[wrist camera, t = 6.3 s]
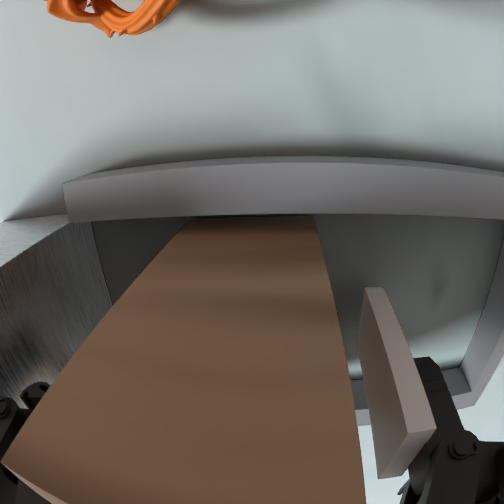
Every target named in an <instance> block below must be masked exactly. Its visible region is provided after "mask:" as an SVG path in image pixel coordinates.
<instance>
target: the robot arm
mask: <svg viewBox="0 0 504 504" xmlns="http://www.w3.org/2000/svg"><path fill="white" fill-rule="evenodd" d="M356 343H357V348H358V353H359V358H360V363H361V368H362V373H363V379H364V384H365V390H366V396H367V401H368V408H369V414H370V420H371V427H372V434H373V441H374V449H375V457H376V466H377V475H378V479H384V478H391V477H397V476H402V475H403V474H404V472H405V471H406V470H407V469H408V471H409V477H410V479H409V480H408V481H407V482H406V483H405V484H404V485H403V486H402V488H401V489H400V490H399V492H398V494H397V495H401V494H402V493H403V495H402V498H401V501H400V504H504V442H485V441H479V440H478V438H477V437H476V436H475V435H474V434H473V433H471V432H470V431H467V430H464V428H463V426H462V423H461V420H460V418H459V415H458V412H457V410H456V407H455V404H454V402H453V399H452V396H451V394H450V391H448V386H447V384H446V382H445V381H444V377H443V374H442V372H441V370H440V368H439V366H438V365H437V364H436V363H435V362H434V361H433V360H432V359H431V358H430V357H421V358H413V357H412V354H411V352H410V349H409V347H408V344H407V342H406V339H405V337H404V334H403V332H402V329H401V327H400V324H399V322H398V320H397V317H396V315H395V313H394V310H393V308H392V306H391V303H390V301H389V299H388V297H387V294H386V292H385V290H384V288H383V287H365V289H364V297H363V303H362V310H361V316H360V323H359V328H358V334H357V340H356ZM50 386H51V385H50V384H48V383H47V382H36V383H33V384H31V385H29V386H28V387H27V388H26V389H24V390H23V392H22V393H21V395H20V398H21V399H22V401H23V402H24V404H25V405H26V406H27V408H28V409H23V408H20V407H19V406H18V404H17V403H16V402H15V400H13V399H12V398H8V397H5V398H1V399H0V461H1V460H2V458H3V457H4V455H5V453H6V452H7V450H8V448H9V447H10V445H11V444H12V442H13V440H14V439H15V437H16V436H17V434H18V433H19V431H20V430H21V428H22V427H23V425H24V424H25V422H26V421H27V419H28V418H29V416H30V415H31V413H32V412H33V410H34V409H35V407H36V406H37V404H38V403H39V401H40V400H41V399H42V397H43V396H44V394H45V393H46V392H47V390H48V389H49V387H50ZM0 504H52V503H50V502H49V501H47V500H46V499H45V498H43V497H42V496H41V495H39V494H38V493H37V492H35V491H34V490H33V489H31V488H30V487H29V486H28V485H26V484H25V483H24V482H23V481H21V480H20V479H19V478H18V477H17V476H16V475H14V474H13V473H12V472H11V471H10V470H9V469H8V468H6V467H5V466H4V465H3V464H2V463H1V462H0Z"/></svg>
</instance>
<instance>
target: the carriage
mask: <svg viewBox="0 0 504 504" xmlns="http://www.w3.org/2000/svg"><path fill="white" fill-rule="evenodd" d="M0 462H1V463H2V464H3V465H4V466H5V467H6V468H8V469H9V470H10V471H11V472H12V473H13V474H14V475H16V476H17V477H18V478H19V479H20V480H21V481H23V482H24V483H25V484H26V485H28V486H29V487H30V488H31V489H33V490H34V491H35V492H37V493H38V494H39V495H41V496H42V497H43V498H45V499H46V500H47V501H49V502H50V503H52V504H366V496H365V485H364V475H363V466H362V457H361V449H360V441H359V434H358V427H357V420H356V413H355V407H354V400H353V394H352V388H351V382H350V377H349V371H348V366H347V360H346V355H345V350H344V345H343V339H342V335H341V330H340V325H339V320H338V315H337V311H336V306H335V302H334V297H333V293H332V288H331V284H330V280H329V276H328V272H327V267H326V263H325V259H324V255H323V251H322V247H321V243H320V240H319V236H318V232H317V228H316V225H315V221H314V217H237V218H201V219H190V220H189V221H188V222H187V223H186V224H185V225H184V226H183V227H182V228H181V229H180V230H179V231H178V232H177V234H176V235H175V236H174V237H173V238H172V239H171V240H170V241H169V242H168V243H167V244H166V245H165V247H164V248H163V249H162V250H161V251H160V252H159V253H158V254H157V255H156V257H155V258H154V259H153V260H152V261H151V262H150V263H149V264H148V265H147V267H146V268H145V269H144V270H143V271H142V272H141V273H140V275H139V276H138V277H137V278H136V279H135V280H134V281H133V283H132V284H131V285H130V286H129V287H128V288H127V290H126V291H125V292H124V293H123V294H122V296H121V297H120V298H119V299H118V300H117V301H116V303H115V304H114V305H113V306H112V307H111V309H110V310H109V311H108V312H107V314H106V315H105V316H104V317H103V318H102V320H101V321H100V322H99V323H98V325H97V326H96V327H95V328H94V330H93V331H92V332H91V333H90V335H89V336H88V337H87V338H86V340H85V341H84V342H83V343H82V345H81V346H80V347H79V349H78V350H77V351H76V352H75V354H74V355H73V356H72V358H71V359H70V360H69V362H68V363H67V364H66V366H65V367H64V368H63V370H62V371H61V372H60V374H59V375H58V376H57V378H56V379H55V380H54V382H53V383H52V385H51V386H50V387H49V389H48V390H47V392H46V393H45V394H44V396H43V397H42V399H41V400H40V401H39V403H38V404H37V406H36V407H35V409H34V410H33V412H32V413H31V415H30V416H29V418H28V419H27V421H26V422H25V424H24V425H23V427H22V428H21V430H20V431H19V433H18V434H17V436H16V437H15V439H14V440H13V442H12V444H11V445H10V447H9V448H8V450H7V452H6V453H5V455H4V457H3V458H2V460H1V461H0Z"/></svg>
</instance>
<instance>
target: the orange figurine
mask: <svg viewBox="0 0 504 504" xmlns="http://www.w3.org/2000/svg"><path fill="white" fill-rule="evenodd" d="M45 1H48V3H47V11H48V12H49V13H50V14H52V15H54V16H56V17H58V18H61V19H64V20H68V21H72V22H80V23H90V24H92V25H94V26H95V27H97V28H98V29H101V30H103V31H104V32H105V33H106V34H107V36H108V37H110V38H111V37H112V36H113V34H114V32H117V33H119V36H121V35H122V34H128V35H139V34H141V33H144V32H146V31H149V30H150V29H152V28H153V27H154V26H156V25H157V24H158V23H160V22H161V21H162V20H163V19H164V18H165V17H166V16H167V15H168V14H169V13H170V12H171V11H172V10H173V9H174V8H175V7H176V5H177V4H178V3H179V1H180V0H145V1H144V2H143V3H142V4H141V6H140V7H139V8H138V9H137V10H136V11H135V12H127V11H125V10H123V9H121V8H120V7H118V6H117V5H116V4H115V3H114V2H112V1H111V0H91V2H90V3H89V4H88V5H87V0H45ZM86 5H87V7H89V6H92V8H93V10H94V12H95V13H88V12H85V11H84V10H85V8H86Z"/></svg>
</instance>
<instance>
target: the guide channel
mask: <svg viewBox="0 0 504 504" xmlns="http://www.w3.org/2000/svg"><path fill="white" fill-rule="evenodd" d="M62 189H63V195H64V200H65V205H66V210H67V215H68V220H69V223H77V222H90V221H105V220H120V219H138V218H157V217H179V216H205V215H240V214H391V215H424V216H449V217H469V218H486V219H502V220H504V172H500V171H494V170H488V169H482V168H475V167H468V166H461V165H453V164H445V163H436V162H427V161H416V160H404V159H391V158H375V157H353V156H259V157H236V158H219V159H205V160H193V161H181V162H171V163H162V164H153V165H145V166H137V167H129V168H122V169H115V170H109V171H102V172H96V173H91V174H88V175H85V176H82V177H80V178H77V179H74V180H71V181H69V182H66V183H64V184H62ZM503 354H504V238H503V243H502V247H501V252H500V256H499V260H498V264H497V267H496V271H495V275H494V278H493V282H492V285H491V288H490V291H489V295H488V298H487V301H486V304H485V306H484V309H483V312H482V315H481V318H480V320H479V323H478V326H477V328H476V331H475V333H474V336H473V338H472V341H471V343H470V345H469V348H468V350H467V352H466V354H465V357H464V359H463V361H462V363H461V365H460V367H458V368H453V369H447V370H441V372H442V374H443V377H444V381H445V382H446V384H447V386H448V391H450V394H451V396H452V399H453V402H454V404H455V407H456V410H458V409H462V408H466V407H470V406H474V405H475V404H476V402H477V400H478V399H479V397H480V396H481V394H482V392H483V391H484V389H485V387H486V386H487V384H488V382H489V380H490V379H491V377H492V375H493V373H494V372H495V370H496V368H497V366H498V364H499V362H500V360H501V358H502V356H503ZM350 382H351V388H352V394H353V400H354V407H355V413H356V420H357V426H362V425H371V420H370V414H369V408H368V401H367V396H366V390H365V384H364V379H363V380H350Z"/></svg>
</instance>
